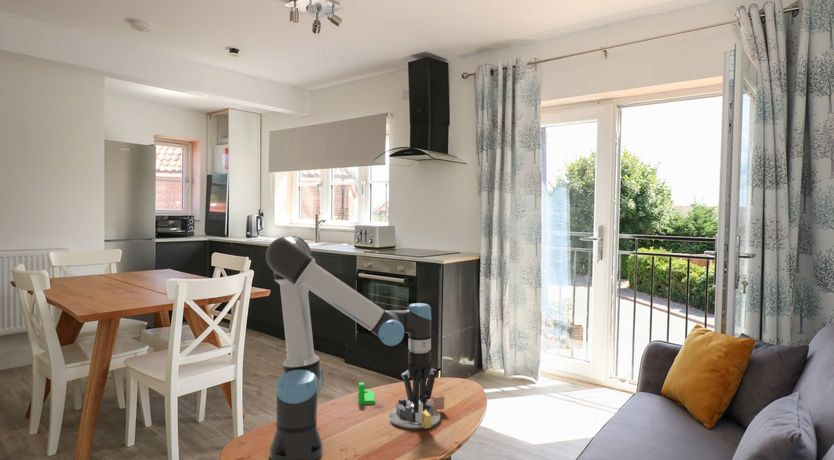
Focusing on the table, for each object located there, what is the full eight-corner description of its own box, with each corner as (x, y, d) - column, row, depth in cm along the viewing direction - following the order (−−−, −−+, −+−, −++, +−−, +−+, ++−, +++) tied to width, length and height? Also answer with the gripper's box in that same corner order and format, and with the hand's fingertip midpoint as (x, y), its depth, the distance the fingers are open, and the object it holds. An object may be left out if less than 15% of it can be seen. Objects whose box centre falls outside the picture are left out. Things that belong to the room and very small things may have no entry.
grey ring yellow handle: (392, 409, 174) (392, 397, 174) (424, 405, 179) (425, 394, 178) (409, 430, 157) (410, 417, 157) (445, 425, 161) (445, 412, 161)
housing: (398, 432, 159) (398, 414, 159) (383, 412, 176) (383, 396, 176) (456, 424, 166) (456, 407, 166) (436, 405, 183) (436, 390, 183)
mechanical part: (374, 405, 183) (375, 384, 183) (358, 406, 182) (359, 385, 182) (373, 394, 195) (373, 374, 195) (358, 395, 194) (358, 375, 194)
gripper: (406, 355, 154) (406, 429, 155) (442, 351, 160) (441, 422, 160) (397, 350, 161) (396, 420, 161) (431, 346, 167) (430, 414, 167)
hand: (419, 421), depth 161 cm, fingers closed
